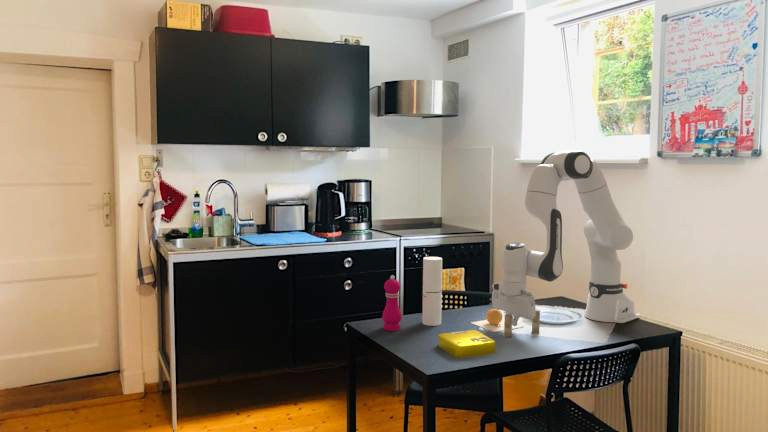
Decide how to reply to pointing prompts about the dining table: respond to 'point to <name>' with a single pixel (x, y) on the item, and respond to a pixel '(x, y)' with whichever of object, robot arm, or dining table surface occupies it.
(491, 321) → the ball
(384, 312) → the pepper mill
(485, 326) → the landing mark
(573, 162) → the robot arm
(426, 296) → the cylindrical container
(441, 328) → the dining table surface
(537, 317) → the right post
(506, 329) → the left post
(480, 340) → the element tile
